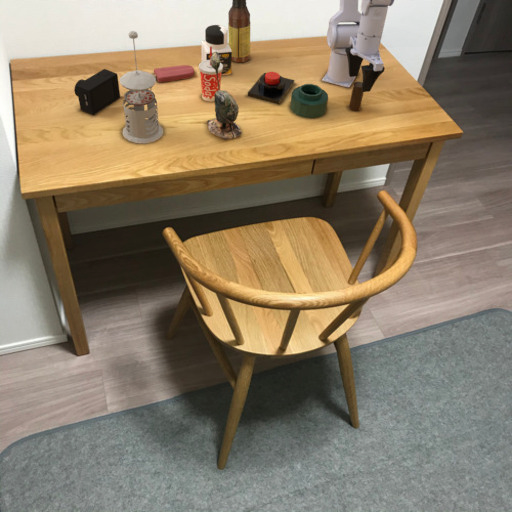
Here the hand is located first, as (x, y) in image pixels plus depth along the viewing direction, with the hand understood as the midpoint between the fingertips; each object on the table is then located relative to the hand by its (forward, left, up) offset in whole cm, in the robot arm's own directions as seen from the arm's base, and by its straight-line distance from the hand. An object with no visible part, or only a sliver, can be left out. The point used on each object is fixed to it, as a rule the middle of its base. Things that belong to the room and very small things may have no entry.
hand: (359, 83), depth 145 cm
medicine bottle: (-1, -41, -8) cm, 42 cm away
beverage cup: (+13, -36, -7) cm, 39 cm away
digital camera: (+29, -60, -8) cm, 67 cm away
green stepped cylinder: (+6, -11, -7) cm, 14 cm away
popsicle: (+9, -51, -7) cm, 52 cm away
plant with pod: (+26, -26, -7) cm, 38 cm away
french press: (+34, -44, -7) cm, 56 cm away
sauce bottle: (-10, -38, -7) cm, 40 cm away
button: (+2, -23, -5) cm, 24 cm away
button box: (+2, -23, -7) cm, 24 cm away
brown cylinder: (0, 0, -7) cm, 7 cm away
